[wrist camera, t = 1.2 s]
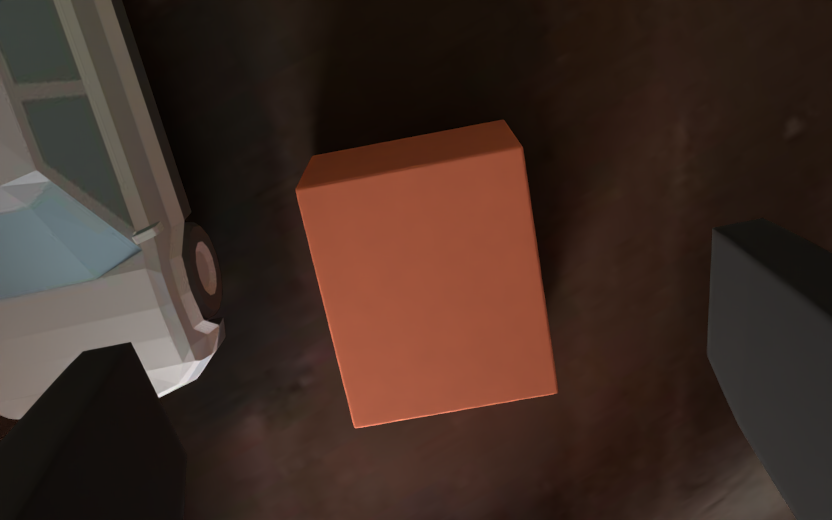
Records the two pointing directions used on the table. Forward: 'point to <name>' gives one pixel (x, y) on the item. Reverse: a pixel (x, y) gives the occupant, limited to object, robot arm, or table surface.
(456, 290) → the small block
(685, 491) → the table surface
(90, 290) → the toy car
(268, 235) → the table surface
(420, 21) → the table surface
